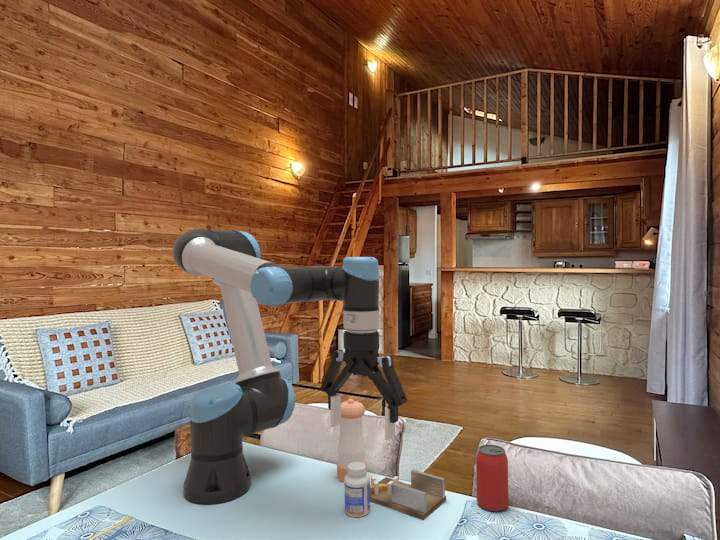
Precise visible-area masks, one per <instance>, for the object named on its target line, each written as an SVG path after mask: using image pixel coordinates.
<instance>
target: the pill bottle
mask: <svg viewBox="0 0 720 540" xmlns="http://www.w3.org/2000/svg"><path fill="white" fill-rule="evenodd" d="M366 467H367V464H366V465H365V464H364V463H361V462H353V463H350V464H348V466H347V472H348V474H347V475H346V476H345V478H344V482H343V483H344V485H343V487H344V511H345V514H347V515H348V516H349V517H352V518H362V517H365V516H367V515H368V514H369V513H370V511H371V501H370V485H371V477H370V475H368V473H367V474H366Z"/></svg>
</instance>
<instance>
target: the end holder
mask: <svg viewBox="0 0 720 540" xmlns="http://www.w3.org/2000/svg"><path fill="white" fill-rule="evenodd" d="M445 483H446V480H445V478H444V477H441V476H437V475H434V474H430V473H427V472H423V471H419V470H416V469H411V470H410V485H411V488H410V487H407V486H404V485H401V484H397V483H392V484H391V494H392V503H394V504H397V505H400V506H402V507H405V508H408V509H411V510H414V511H417V512H420V513H423V514H425V513H426V512H427V494H430V495H433V496H437V497H440V498H444V497H445V496H446V487H445V486H446V484H445ZM426 493H427V494H426Z"/></svg>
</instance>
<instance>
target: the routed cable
mask: <svg viewBox="0 0 720 540" xmlns="http://www.w3.org/2000/svg"><path fill="white" fill-rule="evenodd" d="M391 479H392V481H390V482H389V483H387V484H378V482H379V481H377V479H376V476H375V475H370V492H374V494H375V495H378V494H379V491H385V490H386V491H387V492H388V495H391V484H392V483H397V484H399V481H400V479H399V476H396V475H395V476H394V477H393V478H391Z"/></svg>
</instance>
